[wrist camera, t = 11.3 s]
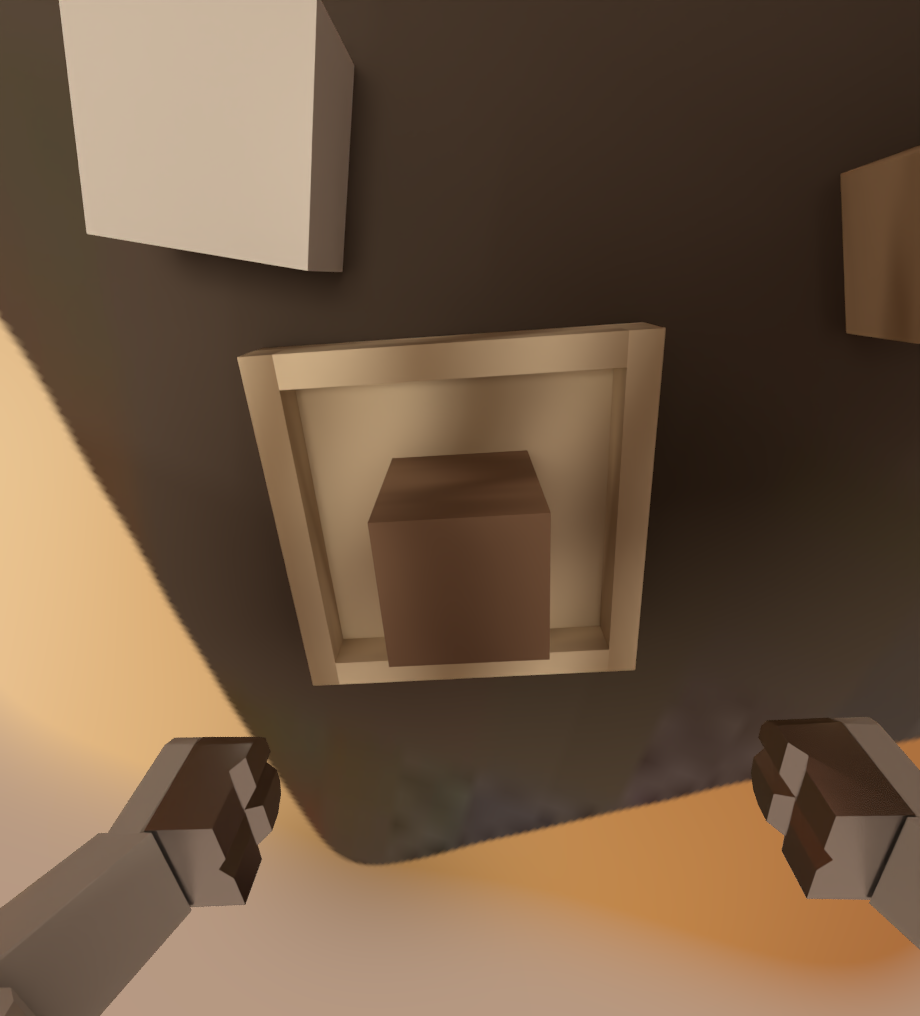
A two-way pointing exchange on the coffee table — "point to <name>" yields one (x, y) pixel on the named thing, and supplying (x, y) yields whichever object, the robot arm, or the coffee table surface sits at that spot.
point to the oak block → (883, 247)
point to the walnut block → (462, 559)
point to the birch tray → (462, 430)
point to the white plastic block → (213, 126)
